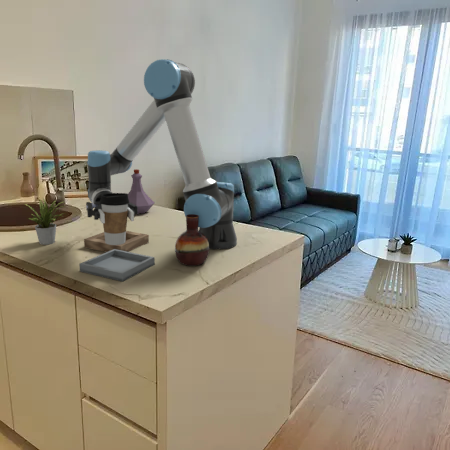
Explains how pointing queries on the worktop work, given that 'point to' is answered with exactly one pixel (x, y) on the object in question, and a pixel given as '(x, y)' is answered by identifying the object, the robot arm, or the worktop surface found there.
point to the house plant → (45, 223)
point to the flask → (139, 194)
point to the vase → (192, 244)
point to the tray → (117, 264)
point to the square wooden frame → (131, 243)
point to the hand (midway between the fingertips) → (118, 217)
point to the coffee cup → (115, 217)
